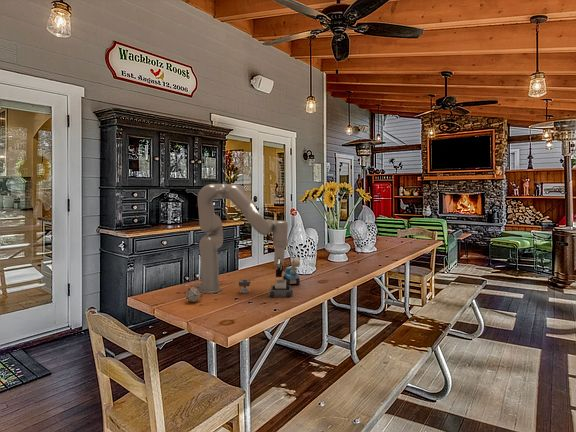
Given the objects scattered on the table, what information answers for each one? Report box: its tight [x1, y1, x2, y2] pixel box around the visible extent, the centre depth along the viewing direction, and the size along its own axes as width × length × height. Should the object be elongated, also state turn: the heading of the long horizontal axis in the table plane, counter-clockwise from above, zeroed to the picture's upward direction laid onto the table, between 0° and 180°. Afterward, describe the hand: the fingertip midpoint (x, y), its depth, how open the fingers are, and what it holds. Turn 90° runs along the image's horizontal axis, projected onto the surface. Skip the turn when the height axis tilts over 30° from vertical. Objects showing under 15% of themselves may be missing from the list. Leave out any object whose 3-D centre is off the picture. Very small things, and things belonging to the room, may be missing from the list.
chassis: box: [267, 284, 294, 298], centre depth 205 cm, size 13×13×3 cm
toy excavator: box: [281, 257, 301, 285], centre depth 222 cm, size 9×17×17 cm, turn 15°
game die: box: [183, 285, 203, 304], centre depth 191 cm, size 9×8×10 cm
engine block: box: [274, 279, 286, 290], centre depth 204 cm, size 6×5×6 cm
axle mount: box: [240, 286, 250, 295], centre depth 207 cm, size 5×5×4 cm
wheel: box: [238, 279, 251, 287], centre depth 207 cm, size 6×6×2 cm
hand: (279, 274), depth 204 cm, fingers open, 9 cm apart
